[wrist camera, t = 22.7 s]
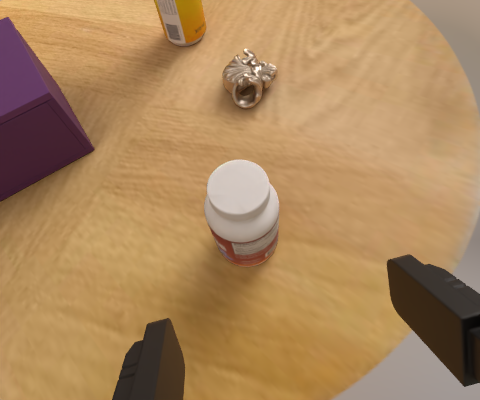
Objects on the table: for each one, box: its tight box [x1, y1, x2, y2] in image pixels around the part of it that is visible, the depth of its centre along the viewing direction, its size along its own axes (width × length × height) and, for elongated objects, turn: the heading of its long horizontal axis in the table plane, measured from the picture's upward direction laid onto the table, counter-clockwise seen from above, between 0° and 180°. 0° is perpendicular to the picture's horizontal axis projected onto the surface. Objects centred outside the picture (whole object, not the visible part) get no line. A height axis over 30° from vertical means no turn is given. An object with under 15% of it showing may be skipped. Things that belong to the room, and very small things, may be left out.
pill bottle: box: [204, 160, 279, 267], centre depth 30 cm, size 6×6×11 cm
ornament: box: [222, 49, 277, 109], centre depth 43 cm, size 8×7×4 cm
